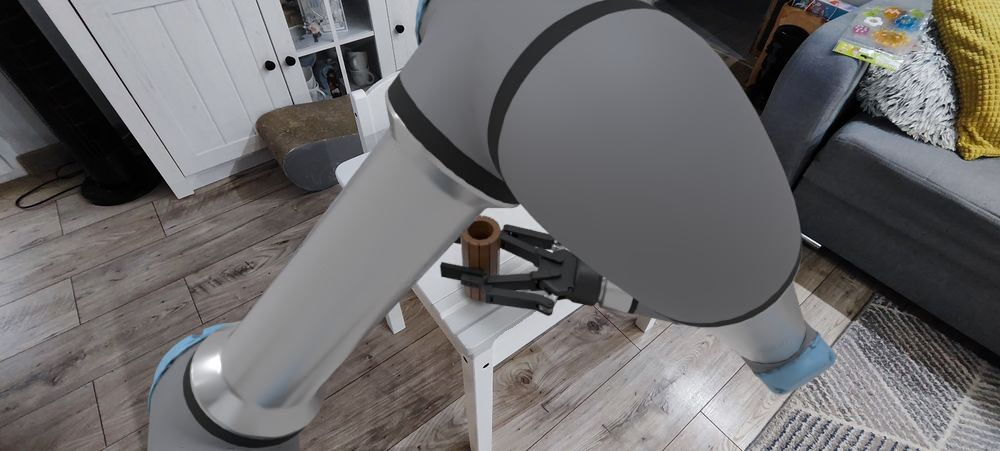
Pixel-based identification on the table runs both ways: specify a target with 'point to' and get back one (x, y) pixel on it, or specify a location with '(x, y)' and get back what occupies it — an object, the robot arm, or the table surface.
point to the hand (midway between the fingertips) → (448, 252)
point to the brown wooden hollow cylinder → (481, 250)
